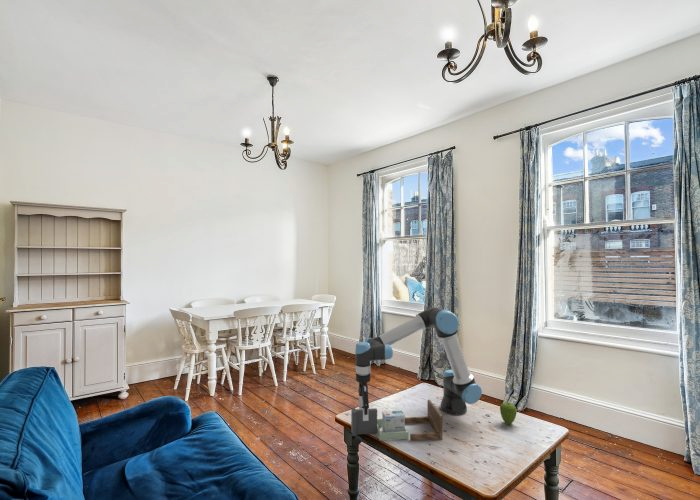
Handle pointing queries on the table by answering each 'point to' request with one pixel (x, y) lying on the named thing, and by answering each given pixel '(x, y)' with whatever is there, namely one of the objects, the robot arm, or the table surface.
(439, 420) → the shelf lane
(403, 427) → the light bulb box
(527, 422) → the table surface
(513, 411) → the green rounded lump
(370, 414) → the pull cradle
